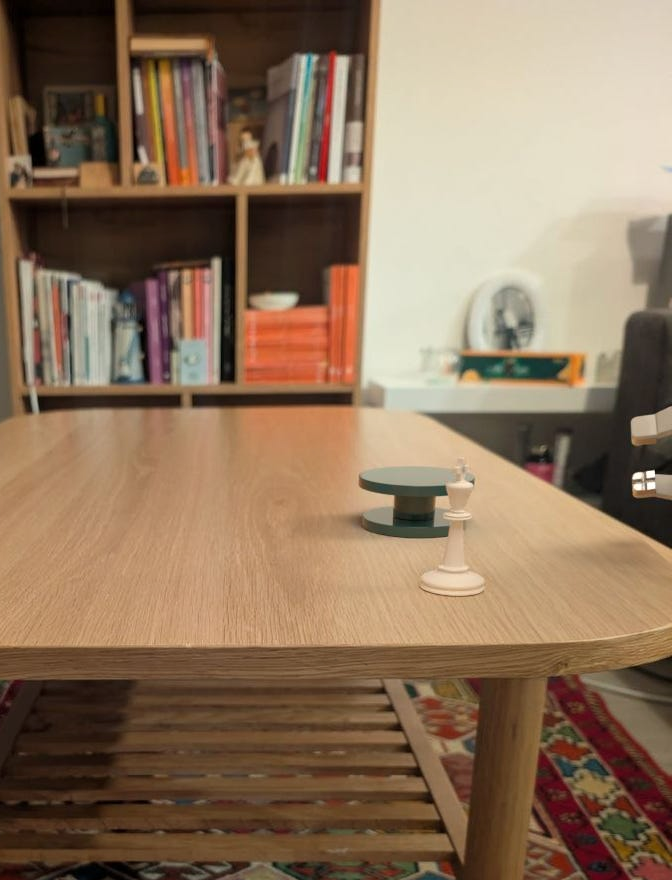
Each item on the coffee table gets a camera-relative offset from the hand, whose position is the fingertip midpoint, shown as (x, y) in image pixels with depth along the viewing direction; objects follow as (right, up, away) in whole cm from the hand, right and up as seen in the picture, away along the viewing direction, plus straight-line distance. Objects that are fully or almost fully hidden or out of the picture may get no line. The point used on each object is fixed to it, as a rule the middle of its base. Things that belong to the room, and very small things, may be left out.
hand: (631, 460), depth 77 cm
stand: (-14, -3, +16) cm, 22 cm away
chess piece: (-16, -11, -4) cm, 19 cm away
